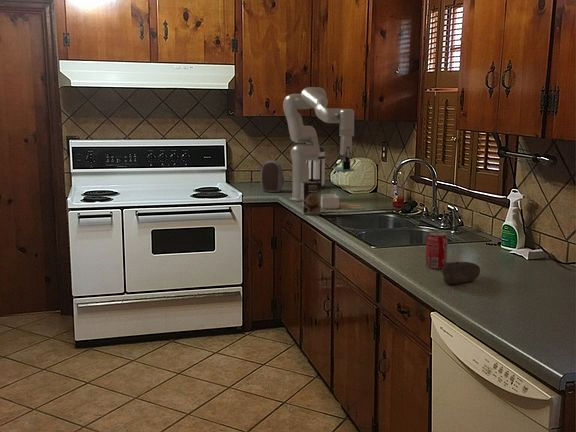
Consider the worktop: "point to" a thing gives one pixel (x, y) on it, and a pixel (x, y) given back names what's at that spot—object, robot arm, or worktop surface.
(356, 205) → the mat
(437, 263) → the soda can
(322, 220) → the worktop surface
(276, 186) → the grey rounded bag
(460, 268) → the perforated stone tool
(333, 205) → the tub
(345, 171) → the lid
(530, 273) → the worktop surface
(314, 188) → the coffee box
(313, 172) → the coffee press
